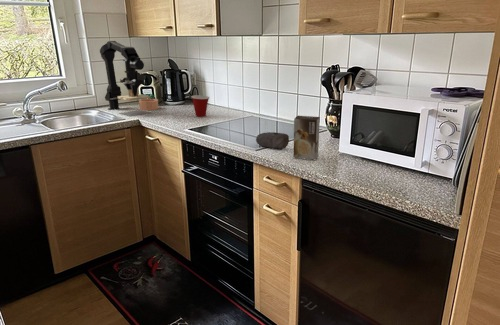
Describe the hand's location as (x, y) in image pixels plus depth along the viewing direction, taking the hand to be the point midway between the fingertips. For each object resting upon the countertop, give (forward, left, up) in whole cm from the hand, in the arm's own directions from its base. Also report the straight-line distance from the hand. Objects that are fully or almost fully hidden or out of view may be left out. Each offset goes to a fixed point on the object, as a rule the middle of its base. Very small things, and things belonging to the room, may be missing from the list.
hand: (133, 95), depth 231 cm
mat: (0, 0, -12) cm, 12 cm away
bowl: (-8, +14, -12) cm, 20 cm away
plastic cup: (+35, +24, -12) cm, 44 cm away
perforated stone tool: (+110, +2, -12) cm, 111 cm away
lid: (0, 0, -2) cm, 2 cm away
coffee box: (+129, +1, -12) cm, 129 cm away
